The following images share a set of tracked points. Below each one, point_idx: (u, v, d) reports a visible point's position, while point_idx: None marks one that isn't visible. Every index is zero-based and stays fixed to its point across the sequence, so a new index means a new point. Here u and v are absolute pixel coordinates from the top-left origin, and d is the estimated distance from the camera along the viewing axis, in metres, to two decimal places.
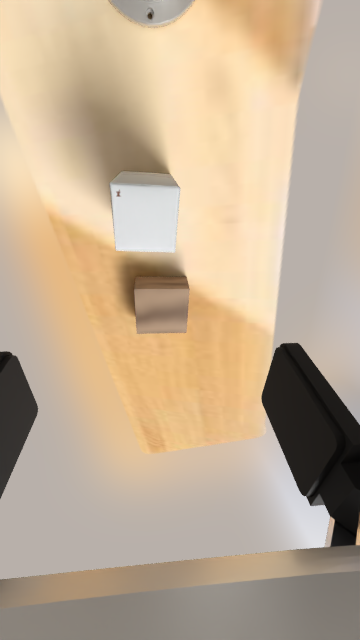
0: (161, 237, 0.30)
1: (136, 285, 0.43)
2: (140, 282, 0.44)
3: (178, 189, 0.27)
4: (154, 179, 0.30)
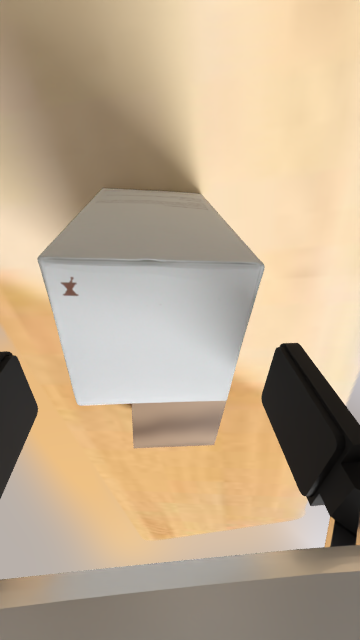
0: (196, 378, 0.11)
1: None
2: None
3: (259, 270, 0.09)
4: (177, 224, 0.11)
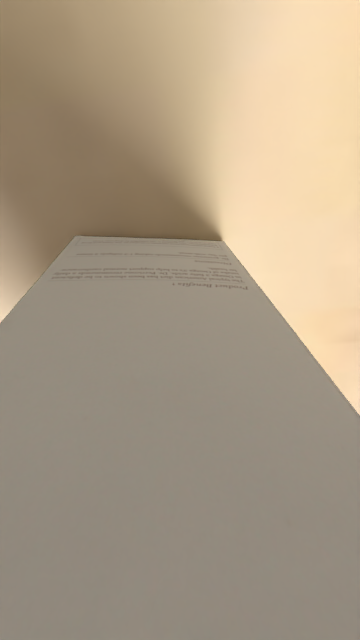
0: None
1: None
2: None
3: None
4: (206, 365, 0.05)
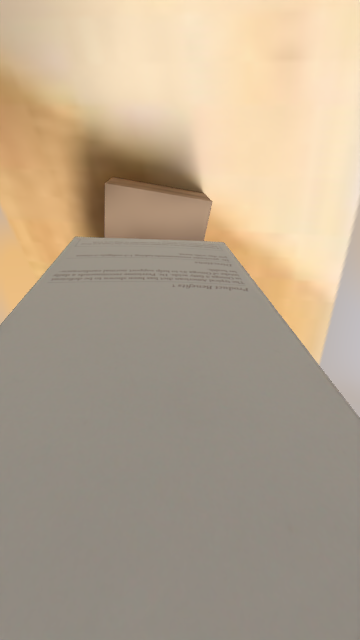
0: None
1: (111, 182, 0.22)
2: (119, 181, 0.23)
3: None
4: (206, 368, 0.05)
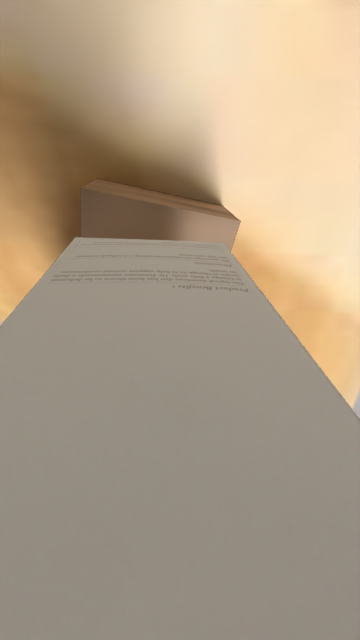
0: None
1: (91, 186, 0.15)
2: (105, 185, 0.16)
3: None
4: (206, 369, 0.05)
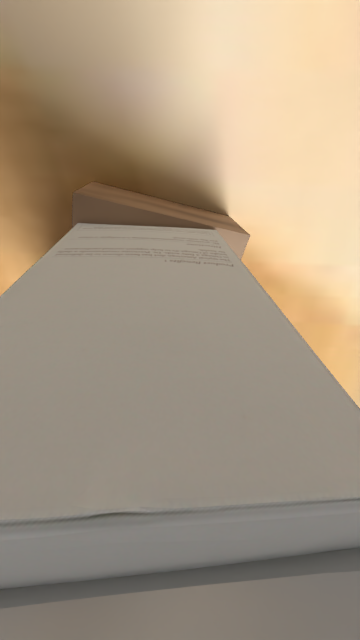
0: None
1: (86, 190, 0.13)
2: (101, 189, 0.14)
3: None
4: (188, 318, 0.06)
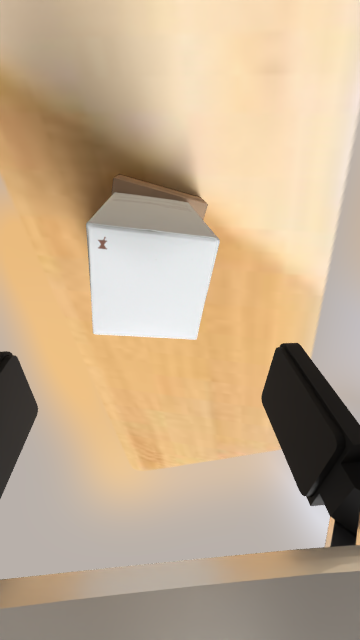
0: (176, 317, 0.17)
1: (118, 177, 0.24)
2: (125, 178, 0.26)
3: (216, 242, 0.15)
4: (169, 216, 0.17)
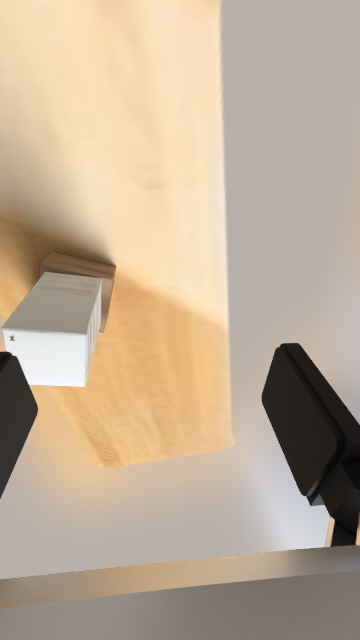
0: (67, 375, 0.27)
1: (45, 261, 0.34)
2: (53, 258, 0.35)
3: (84, 336, 0.24)
4: (65, 310, 0.27)
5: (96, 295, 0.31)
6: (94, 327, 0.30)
